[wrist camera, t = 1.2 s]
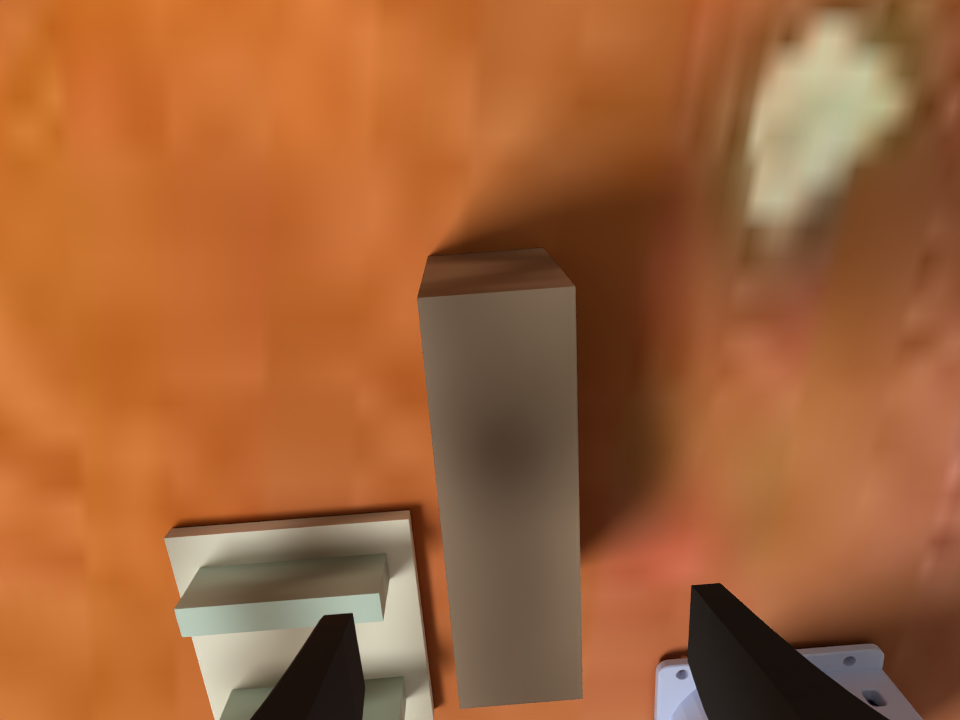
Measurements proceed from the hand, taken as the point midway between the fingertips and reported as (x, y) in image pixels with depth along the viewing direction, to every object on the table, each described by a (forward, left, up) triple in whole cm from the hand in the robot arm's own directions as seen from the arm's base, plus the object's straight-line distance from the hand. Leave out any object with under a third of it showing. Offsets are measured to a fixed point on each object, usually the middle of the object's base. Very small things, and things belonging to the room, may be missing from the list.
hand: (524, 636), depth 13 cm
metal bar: (0, 0, -10) cm, 10 cm away
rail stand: (+8, +8, -10) cm, 15 cm away
